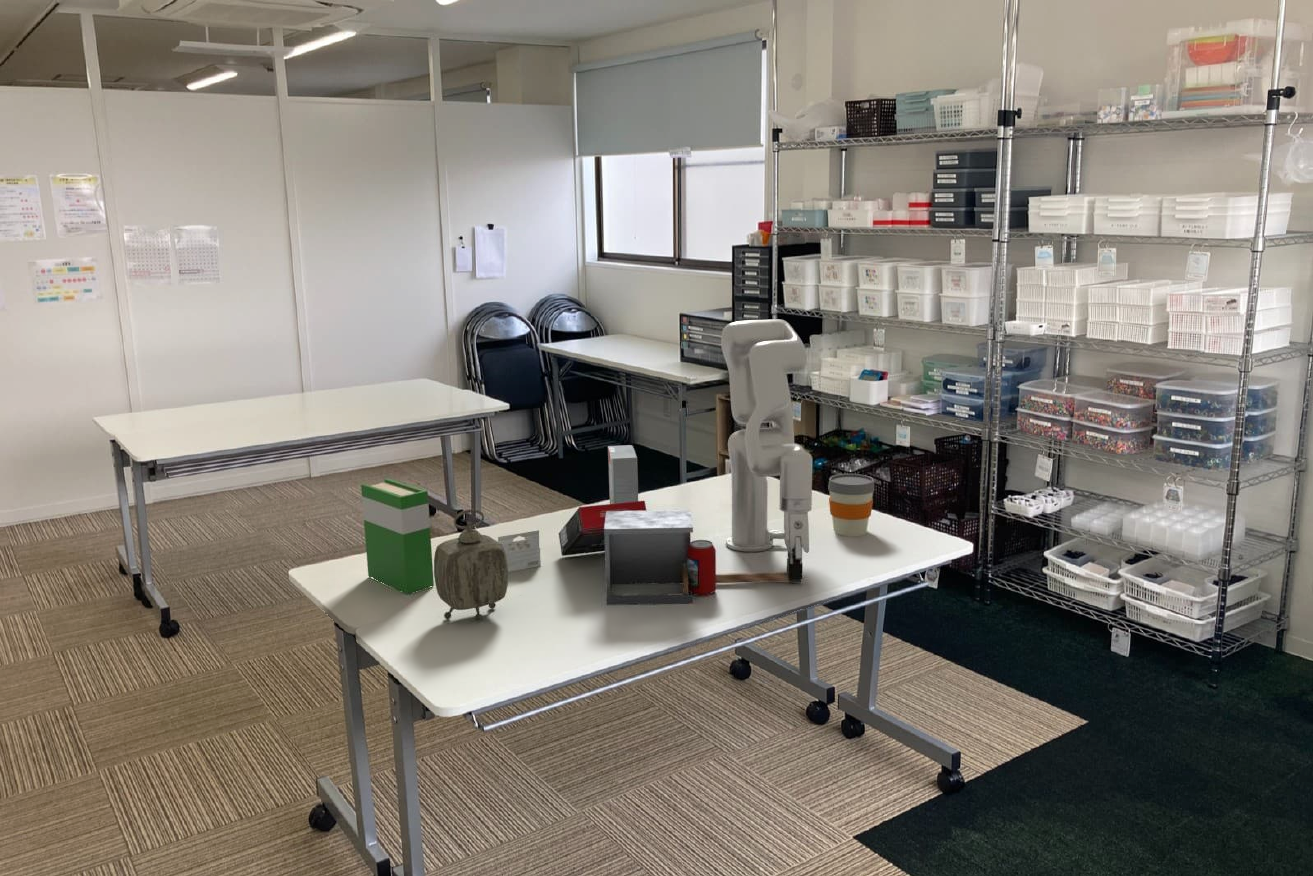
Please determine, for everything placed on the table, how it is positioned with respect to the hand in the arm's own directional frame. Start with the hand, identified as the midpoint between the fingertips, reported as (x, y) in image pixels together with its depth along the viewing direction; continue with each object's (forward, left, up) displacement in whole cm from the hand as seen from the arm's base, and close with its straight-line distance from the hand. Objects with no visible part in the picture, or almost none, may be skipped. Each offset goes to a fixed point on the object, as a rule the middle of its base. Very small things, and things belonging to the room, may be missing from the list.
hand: (794, 576), depth 249 cm
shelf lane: (+35, +5, -2) cm, 35 cm away
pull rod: (+13, +4, -1) cm, 14 cm away
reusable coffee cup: (-21, -39, -2) cm, 44 cm away
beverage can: (+23, +5, -2) cm, 23 cm away
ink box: (+68, -14, -2) cm, 69 cm away
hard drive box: (+42, -57, -2) cm, 71 cm away
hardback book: (+96, -6, -2) cm, 96 cm away
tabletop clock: (+74, +18, -2) cm, 76 cm away
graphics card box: (+50, -26, +1) cm, 57 cm away
